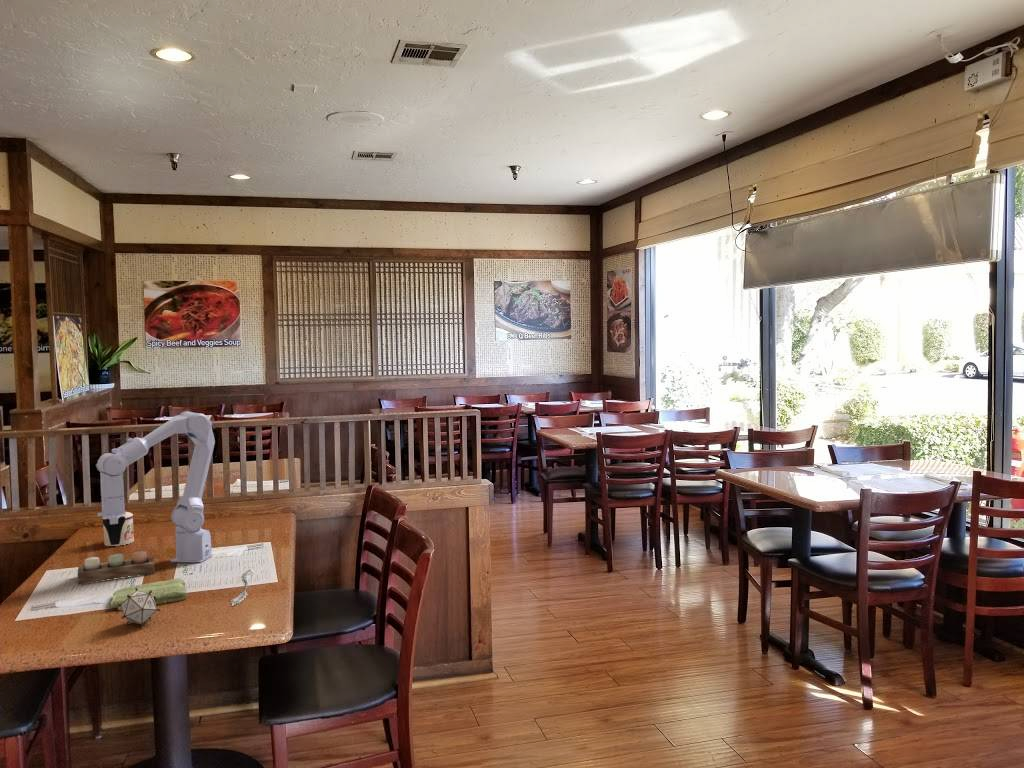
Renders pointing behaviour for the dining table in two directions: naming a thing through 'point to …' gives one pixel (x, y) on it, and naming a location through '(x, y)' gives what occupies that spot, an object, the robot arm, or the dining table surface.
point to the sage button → (116, 560)
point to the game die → (139, 607)
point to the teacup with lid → (126, 532)
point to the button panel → (115, 571)
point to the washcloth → (154, 592)
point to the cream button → (92, 563)
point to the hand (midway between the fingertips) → (115, 544)
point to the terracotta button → (139, 557)
